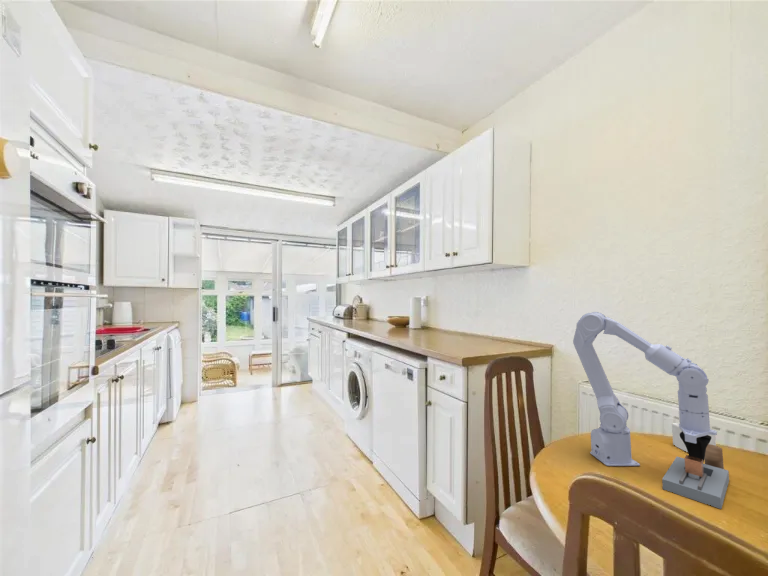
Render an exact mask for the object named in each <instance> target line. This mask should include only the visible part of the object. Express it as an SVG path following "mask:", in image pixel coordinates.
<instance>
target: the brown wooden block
mask: <svg viewBox="0 0 768 576" xmlns="http://www.w3.org/2000/svg"><path fill="white" fill-rule="evenodd" d="M704 464H706V465H710V466H714V467H717V468H721V469H725V467H724V457H723V448H722V447H721V446H717V445H716V446H715V445H710V444H708V445H707V448H706V452H705V458H704Z"/></svg>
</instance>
